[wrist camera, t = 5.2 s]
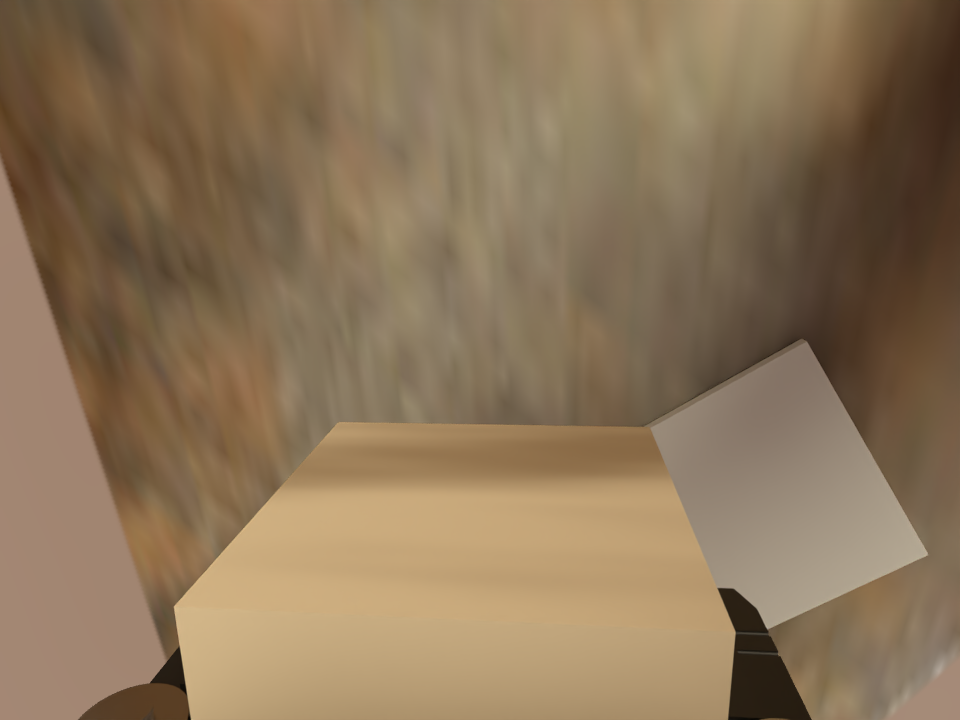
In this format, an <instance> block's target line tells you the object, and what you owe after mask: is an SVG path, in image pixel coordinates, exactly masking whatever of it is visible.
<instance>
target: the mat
mask: <svg viewBox="0 0 960 720" xmlns="http://www.w3.org/2000/svg"><path fill="white" fill-rule="evenodd" d="M644 427H650V429H651V431H652V434H653V436H654V439H655V441H656V443H657V446H658V448H659V450H660V453H661V455H662V458H663V460H664V462H665V465H666V467H667V470H668V472H669V474H670V477H671V479H672V481H673V484H674V486H675V489H676V491H677V493H678V496H679V498H680V501H681V503H682V505H683V508H684V510H685V513H686V515H687V517H688V520H689V522H690V524H691V527H692V529H693V532H694V534H695V536H696V539H697V541H698V544H699V546H700V548H701V551H702V553H703V555H704V558H705V560H706V563H707V565H708V567H709V570H710V572H711V575H712V577H713V579H714V582H715V584H716V587H717V588H734V589H735V590H736V591H737V592H738V593H740V594H741V595H742V596H743V597H744V598H745V599H746V600H748V601H749V602H750V603H751V604H752V605H753V606H754V607H756V608H757V610H758V612H759V614H760V616H761V618H762V620H763V622H764V624H765V626H766V628H767V629H769V628H772V627H774V626H776V625H778V624H780V623H782V622H785V621H787V620H789V619H791V618H793V617H795V616H798V615H800V614H802V613H804V612H806V611H808V610H810V609H813V608H815V607H817V606H819V605H821V604H823V603H826V602H828V601H830V600H832V599H834V598H836V597H839V596H841V595H843V594H845V593H847V592H849V591H851V590H854V589H856V588H858V587H860V586H862V585H864V584H867V583H869V582H871V581H873V580H875V579H877V578H880V577H882V576H884V575H886V574H888V573H890V572H893V571H895V570H897V569H899V568H901V567H903V566H905V565H908V564H910V563H912V562H914V561H916V560H918V559H921V558H923V557H925V556H927V555H928V553H927V551H926V550H925V548H924V546H923V544H922V543H921V541H920V539H919V537H918V536H917V534H916V532H915V530H914V529H913V527H912V525H911V523H910V522H909V520H908V518H907V516H906V514H905V513H904V511H903V509H902V507H901V506H900V504H899V502H898V500H897V499H896V497H895V495H894V493H893V492H892V490H891V488H890V486H889V485H888V483H887V481H886V479H885V478H884V476H883V474H882V472H881V471H880V469H879V467H878V465H877V464H876V462H875V460H874V458H873V457H872V455H871V453H870V451H869V450H868V448H867V446H866V444H865V443H864V441H863V439H862V437H861V436H860V434H859V432H858V430H857V429H856V427H855V425H854V423H853V421H852V420H851V418H850V416H849V414H848V413H847V411H846V409H845V407H844V406H843V404H842V402H841V400H840V399H839V397H838V395H837V393H836V392H835V390H834V388H833V386H832V385H831V383H830V381H829V379H828V378H827V376H826V374H825V372H824V371H823V369H822V367H821V365H820V364H819V362H818V360H817V358H816V357H815V355H814V353H813V351H812V350H811V348H810V346H809V344H808V343H807V341H805V340H804V339H800V340H798V341H796V342H794V343H793V344H791V345H789V346H787V347H785V348H784V349H782V350H780V351H778V352H776V353H775V354H773V355H771V356H769V357H768V358H766V359H764V360H762V361H760V362H759V363H757V364H755V365H753V366H751V367H750V368H748V369H746V370H744V371H742V372H741V373H739V374H737V375H735V376H733V377H732V378H730V379H728V380H726V381H724V382H723V383H721V384H719V385H717V386H715V387H714V388H712V389H710V390H708V391H706V392H705V393H703V394H701V395H699V396H697V397H696V398H694V399H692V400H690V401H688V402H687V403H685V404H683V405H681V406H679V407H678V408H676V409H674V410H672V411H670V412H669V413H667V414H665V415H663V416H662V417H660V418H658V419H656V420H654V421H653V422H651V423H649V424H647V425H645V426H644Z"/></svg>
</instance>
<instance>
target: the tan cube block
mask: <svg viewBox="0 0 960 720" xmlns="http://www.w3.org/2000/svg"><path fill="white" fill-rule="evenodd" d="M174 611H175V617H176V624H177V631H178V637H179V644H180V650H181V657H182V663H183V670H184V677H185V683H186V690H187V696H188V703H189V709H190V716H191V720H728V713H729V702H730V690H731V679H732V667H733V656H734V644H735V633H736V632H735V629H734V627H733V625H732V622H731V620H730V618H729V615H728V613H727V610H726V608H725V606H724V603H723V601H722V598H721V596H720V594H719V591H718V589H717V587H716V584H715V582H714V579H713V577H712V575H711V572H710V570H709V567H708V565H707V563H706V560H705V558H704V555H703V553H702V551H701V548H700V546H699V544H698V541H697V539H696V536H695V534H694V532H693V529H692V527H691V524H690V522H689V520H688V517H687V515H686V513H685V510H684V508H683V505H682V503H681V501H680V498H679V496H678V493H677V491H676V489H675V486H674V484H673V481H672V479H671V477H670V474H669V472H668V470H667V467H666V465H665V462H664V460H663V458H662V455H661V453H660V450H659V448H658V446H657V443H656V441H655V439H654V436H653V434H652V431H651V429H650V427H617V426H553V425H489V424H424V423H360V422H338V423H337V424H336V425H335V426H334V428H333V429H332V430H331V431H330V432H329V433H328V434H327V435H326V437H325V438H324V439H323V440H322V441H321V442H320V443H319V444H318V446H317V447H316V448H315V449H314V450H313V451H312V452H311V453H310V455H309V456H308V457H307V458H306V459H305V460H304V461H303V462H302V463H301V465H300V466H299V467H298V468H297V469H296V470H295V471H294V472H293V474H292V475H291V476H290V477H289V478H288V479H287V480H286V481H285V483H284V484H283V485H282V486H281V487H280V488H279V489H278V490H277V492H276V493H275V494H274V495H273V496H272V497H271V498H270V499H269V501H268V502H267V503H266V504H265V505H264V506H263V507H262V508H261V509H260V511H259V512H258V513H257V514H256V515H255V516H254V517H253V518H252V520H251V521H250V522H249V523H248V524H247V525H246V526H245V527H244V529H243V530H242V531H241V532H240V533H239V534H238V535H237V536H236V538H235V539H234V540H233V541H232V542H231V543H230V544H229V545H228V546H227V548H226V549H225V550H224V551H223V552H222V553H221V554H220V555H219V557H218V558H217V559H216V560H215V561H214V562H213V563H212V564H211V566H210V567H209V568H208V569H207V570H206V571H205V572H204V573H203V575H202V576H201V577H200V578H199V579H198V580H197V581H196V582H195V584H194V585H193V586H192V587H191V588H190V589H189V590H188V591H187V592H186V594H185V595H184V596H183V597H182V598H181V599H180V600H179V601H178V603H177V604H176V605H175V606H174Z"/></svg>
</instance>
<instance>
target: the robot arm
mask: <svg viewBox="0 0 960 720" xmlns="http://www.w3.org/2000/svg"><path fill="white" fill-rule="evenodd" d="M717 589H718V591H719V594H720V596H721V598H722V601H723V603H724V606H725V608H726V610H727V613H728V615H729V618H730V620H731V622H732V625H733V627H734V629H735V632H736V633H735V644H734V656H733V667H732V679H731V690H730V702H729V713H728V720H812V719H811V717H810V715H809V713H808V711H807V709H806V707H805V705H804V703H803V701H802V699H801V697H800V695H799V693H798V691H797V689H796V687H795V685H794V683H793V681H792V679H791V677H790V675H789V673H788V671H787V669H786V667H785V665H784V663H783V661H782V659H781V656H778V650H777V648H776V646H775V644H774V642H773V640H772V638H771V637H770V636H769V635H768V630H767V628H766V626H765V624H764V622H763V620H762V618H761V616H760V614H759V612H758V610H757V608H756V607H754V606H753V605H752V604H751V603H750V602H749V601H748V600H746V599H745V598H744V597H743V596H742V595H741V594H740V593H738V592H737V591H736V590H735V589H734V588H717ZM78 720H191V716H190V709H189V703H188V696H187V690H186V683H185V677H184V670H183V663H182V657H181V650H180V646H179V647H178V649H177V650H176V651H175V652H174V654H173V655H172V656H171V657H170V659H169V660H168V661H167V662H166V664H165V665H164V666H163V667H162V669H161V670H160V671H159V672H158V674H157V675H156V676H155V677H154V679H153V680H152V681H151V682H150V683H149V684H143V685H138V686H134V687H130V688H127V689H124V690H121V691H119V692H117V693H115V694H112V695H111V696H108V697H107V698H105V699H103V700H101V701H100V702H98V703H97V704H95V705H94V706H92V707H91V708H90V709H89V710H88V711H86V712H85V713H84V714H83V715H82V716H81V717H80V718H79V719H78Z"/></svg>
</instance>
